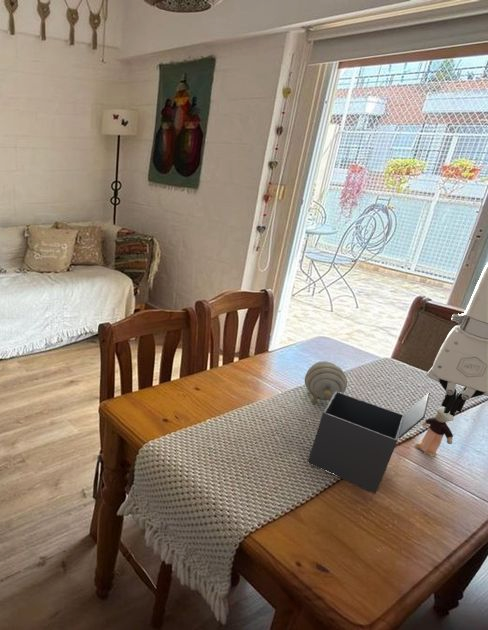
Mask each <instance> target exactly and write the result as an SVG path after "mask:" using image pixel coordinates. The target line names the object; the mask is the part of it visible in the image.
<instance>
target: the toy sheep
mask: <svg viewBox="0 0 488 630" xmlns="http://www.w3.org/2000/svg"><path fill="white" fill-rule="evenodd" d="M304 385H305V388H306V390H307V391H308V393H309V394H310V395H312V398H311V399H312V400H311V403H312V404H314V405H316V404H317V403H318V401H319V400H322V401H328V403H329V402H330V400H331V398H332V396H333V395H334V393H335V391H337V392H340V393H342V394H345V392H346V390H347V387H348V378H347V376H346V374H345V371H343V370H342V368H341V367H340V366H338V365H337V364H336V363H334V362H332V361H327V360H321V361H318V362H314V363H313V364H312V365H311V367H309V368H308V370H307V371H306V374H305V376H304Z"/></svg>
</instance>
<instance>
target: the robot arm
mask: <svg viewBox="0 0 488 630" xmlns="http://www.w3.org/2000/svg"><path fill="white" fill-rule="evenodd" d="M450 321H451V322H455V323H457V324H458V325H455V326H454V327H453V328H452V329H451V330H450V331H449V332H448V334H447V336H446V338H445V339H444V341H443V343H442V344H441V346H440V348H439V350H438V352H437V354H436V356H435V358H434V361H433V364H432V366H431V368H429V370H428V371H427V373H426V377H428V378H430V379H432V380H433V381H436V382H438V383H439V384H440V385H441V387H442V388H443V390H444V391H445V394H444V397H443V399H442V402H441V404H440V407H444V413H446V414H447V413H449V411H450V413H449V414H451V415H452V416H453V417H454V416H455V415H456V413H457V412H458V413H461V412H462V409H463V408H464V406H465V403H466V401H469V400H470V399H472V398H477V397H481V396H485V397H488V262H487V263H486V265H485V266H484V268H483V271H482V273H481V275H480V277H479V280H478V281H477V284H476V286H475V288H474V291H473V294H472V296H471V298H470V300H469V303H468V305H467V307H466V309H465V311H464V313H461V314H459V313H458V314H457V313H453V314H452V316H451V320H450ZM457 385H459V386H461V387H463V388H462V389H461V390H459V391H458V392H457V388H456V386H457Z"/></svg>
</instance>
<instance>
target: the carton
mask: <svg viewBox="0 0 488 630" xmlns="http://www.w3.org/2000/svg"><path fill="white" fill-rule="evenodd" d="M404 416H405V414H403V413H400V412H397V411H394V410H391V409H389V408H386V407H384V406H383V407H382V406H380V405H378V404H374V403H371V402H368V401H365V400H363V399H359V398H356V397H354V396H351V395H348V394H345V393H343V394H342V393H340V392H337V391H335V393H334V395H333V396H332V398H331V400H330V402H329V401H328V403H327V405H326V407H325V409H324V410H323V412H322V415H321V418H320V421H319V424H318V427H317V431H316V434H315V436H314V439H313V443H312V447H311V449H310V453H309V455H308V459H307V462H309V463H310V464H313V465H315V466H317V467H319V468H322V469H324V470H327V471H329V472H331V473H334V474H335V475H337V476H339V477H340V478H339V477H338V478H339V479H341V480H344V481H346V482H348V483H350V484H353V485H355V486H357V487H359V488H361V489H364V490H365V491H367V492H371V493H373V494H374V495H376V494H377V492H378V490H379V488H380V486H381V482H382V480H383V477H384V475H385V473H386V470H387V468H388V466H389V463H390V461H391V458H392V457H393V453H394V450H395V448H396V446H397V444H398V440H399V438H398V436H399V433H400V430H401V426H402V423H403V419H404ZM310 464H309V465H310ZM315 466H314V467H315ZM317 467H316V468H317ZM319 468H318V469H319ZM324 470H323V471H324ZM335 475H334V476H335ZM337 476H336V477H337Z"/></svg>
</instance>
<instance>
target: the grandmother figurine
mask: <svg viewBox="0 0 488 630" xmlns="http://www.w3.org/2000/svg"><path fill="white" fill-rule="evenodd" d="M449 413H450V411H449ZM449 413H447V414H446V413H444V407H443V406H440V407H438V408H437V409H436V413H435V417H434V416H433V417H429V418H426V419H425V420H424V421H423V422H422V426H423V427H428V426H429V427H428V428H427V430H426V432H425V434H424V436H423V438H422V440H421V441H420V442H417V443H415V444H414V445H415V447H416V448H417V449H418V450H422V451H423V454H425V456H428V457H431V458H432V457H436V456H437V451H438V449H439V448H440V446H441V443H442V441H443V437H444V436H445V438H446V444H448V445H452V444H453V437H454V435H453V432H452V430H451V429H450V427H449V426H448V422H452V421H454V419H455V418H454V416H452V415H451V414H449Z"/></svg>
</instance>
